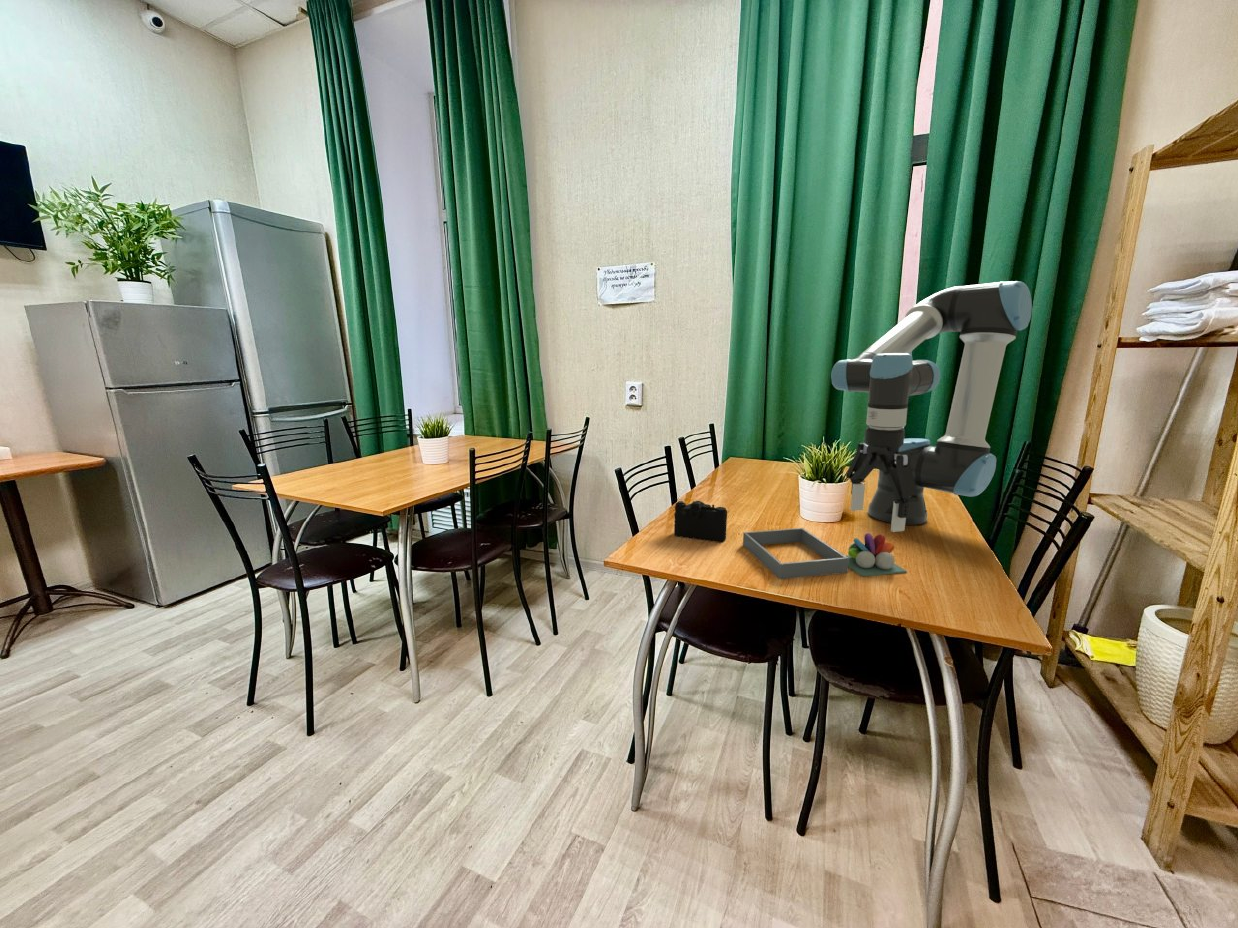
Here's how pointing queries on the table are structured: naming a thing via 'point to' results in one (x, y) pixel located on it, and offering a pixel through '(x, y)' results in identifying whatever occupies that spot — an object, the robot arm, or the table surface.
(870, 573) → the mat
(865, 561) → the rainbow petal fan figurine
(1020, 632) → the table surface
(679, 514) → the camera
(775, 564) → the bin
